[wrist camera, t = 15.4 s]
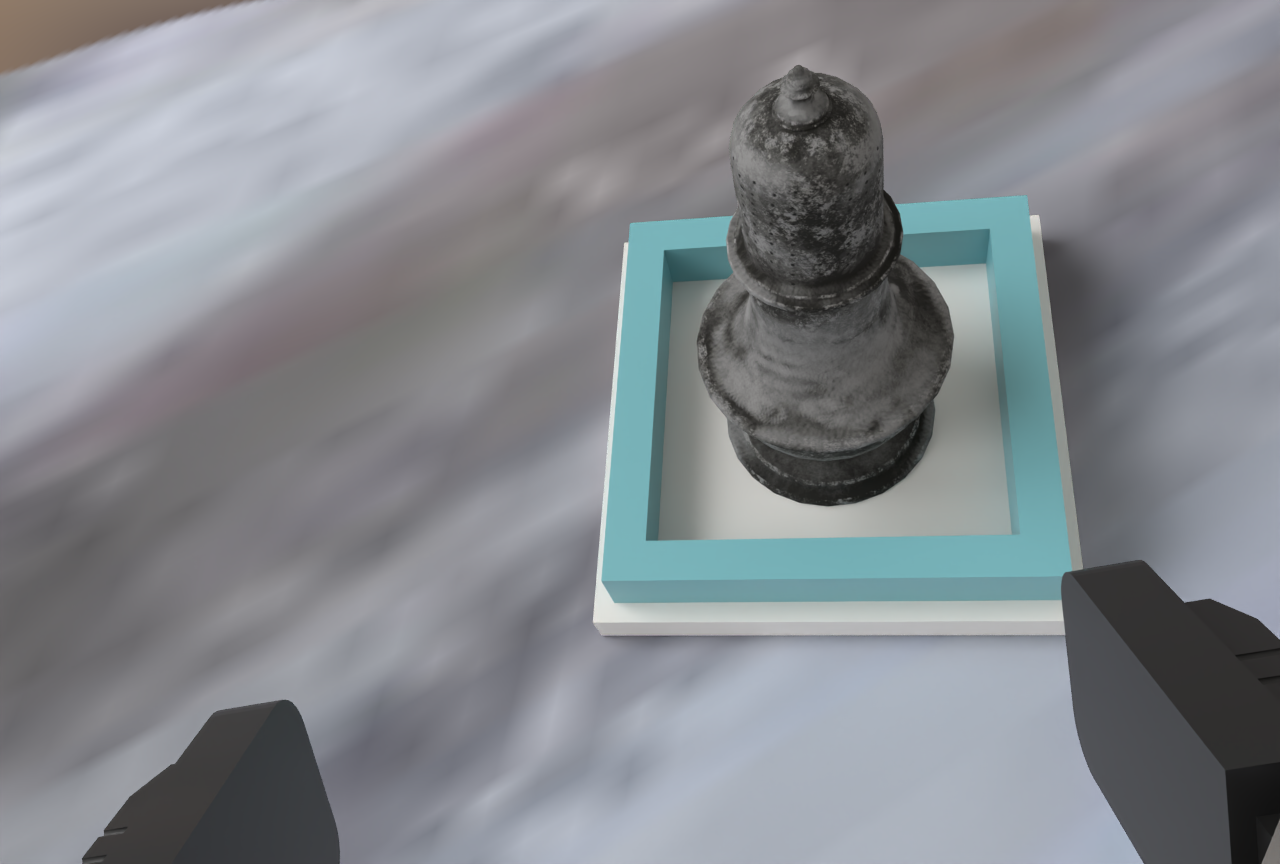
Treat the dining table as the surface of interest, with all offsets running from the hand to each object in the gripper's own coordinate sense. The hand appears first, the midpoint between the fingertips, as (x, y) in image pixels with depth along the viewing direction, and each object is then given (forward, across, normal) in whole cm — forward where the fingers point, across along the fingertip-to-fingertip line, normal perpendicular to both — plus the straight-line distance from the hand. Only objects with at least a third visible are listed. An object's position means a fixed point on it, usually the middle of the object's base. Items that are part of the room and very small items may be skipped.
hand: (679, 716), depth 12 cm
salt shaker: (+18, -3, +3) cm, 19 cm away
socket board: (+19, -3, +3) cm, 20 cm away
